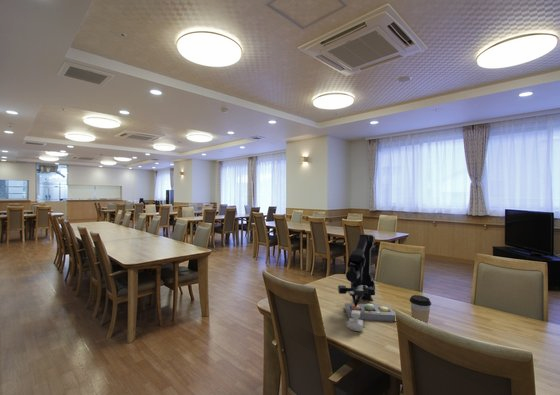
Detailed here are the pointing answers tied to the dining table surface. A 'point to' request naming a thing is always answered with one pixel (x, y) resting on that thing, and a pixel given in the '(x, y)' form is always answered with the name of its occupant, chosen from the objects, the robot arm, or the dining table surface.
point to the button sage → (369, 307)
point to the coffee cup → (420, 307)
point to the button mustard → (384, 309)
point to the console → (372, 312)
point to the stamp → (355, 321)
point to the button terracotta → (355, 307)
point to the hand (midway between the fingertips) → (355, 306)
